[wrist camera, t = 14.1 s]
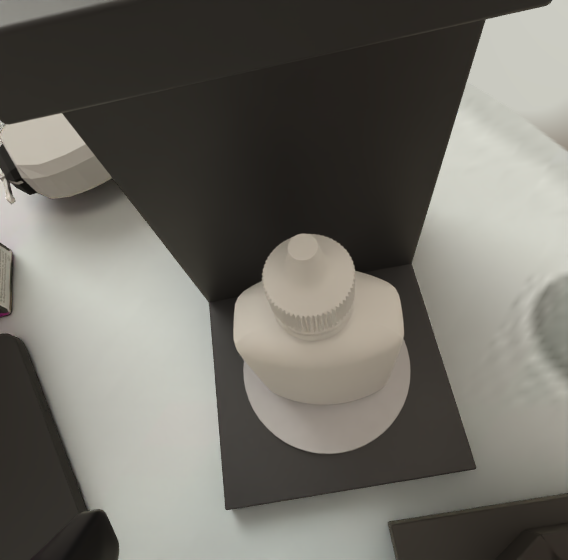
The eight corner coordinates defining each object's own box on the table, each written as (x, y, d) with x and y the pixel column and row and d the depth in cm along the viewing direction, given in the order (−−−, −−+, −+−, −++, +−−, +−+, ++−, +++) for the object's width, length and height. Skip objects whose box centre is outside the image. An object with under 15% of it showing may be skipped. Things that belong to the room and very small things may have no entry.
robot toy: (-10, 130, 34) (54, 246, 27) (-60, 80, 30) (0, 201, 23) (121, 51, 36) (213, 140, 29) (90, -5, 32) (188, 82, 25)
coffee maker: (471, 469, 19) (1330, 408, 2) (230, 509, 20) (-405, 677, 3) (382, 184, 26) (446, -337, 9) (206, 220, 27) (-27, -210, 10)
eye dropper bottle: (295, 306, 22) (246, 141, 11) (399, 354, 20) (459, 213, 10) (253, 383, 21) (151, 278, 10) (361, 441, 19) (381, 392, 8)
